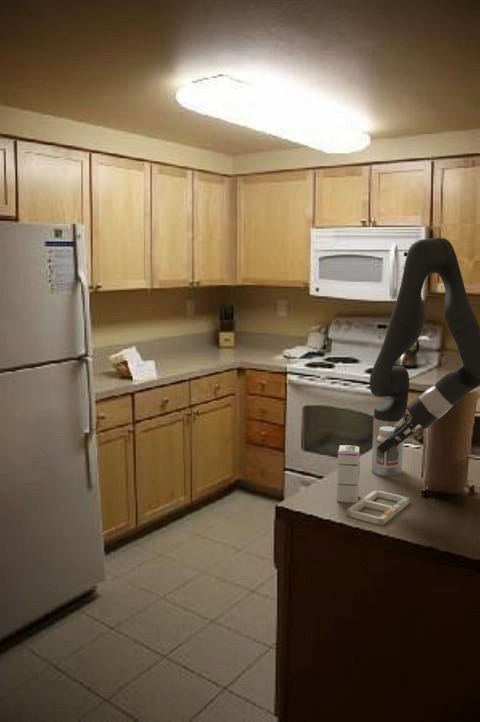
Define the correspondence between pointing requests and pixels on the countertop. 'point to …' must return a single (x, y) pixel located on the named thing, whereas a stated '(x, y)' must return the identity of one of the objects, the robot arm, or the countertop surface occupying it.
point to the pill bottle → (391, 455)
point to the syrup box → (348, 473)
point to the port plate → (377, 507)
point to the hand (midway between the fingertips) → (381, 446)
